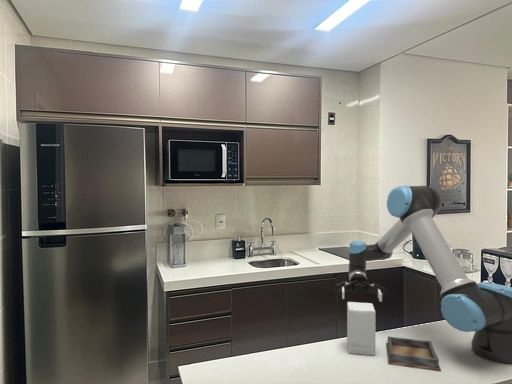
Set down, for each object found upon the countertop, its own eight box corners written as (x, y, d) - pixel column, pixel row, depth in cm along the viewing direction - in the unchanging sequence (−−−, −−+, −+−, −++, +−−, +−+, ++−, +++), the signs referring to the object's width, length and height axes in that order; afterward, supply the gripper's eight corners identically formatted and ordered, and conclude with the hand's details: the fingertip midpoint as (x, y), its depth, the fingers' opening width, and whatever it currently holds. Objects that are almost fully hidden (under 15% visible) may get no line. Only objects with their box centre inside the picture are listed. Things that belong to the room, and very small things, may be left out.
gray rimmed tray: (432, 349, 123) (432, 340, 122) (440, 371, 108) (440, 361, 108) (386, 344, 127) (386, 335, 127) (388, 364, 113) (388, 354, 113)
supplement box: (376, 356, 118) (376, 311, 118) (348, 353, 120) (348, 309, 120) (372, 344, 127) (372, 302, 127) (346, 342, 129) (346, 301, 129)
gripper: (388, 291, 152) (396, 309, 131) (329, 287, 158) (328, 304, 137) (388, 274, 152) (397, 289, 131) (329, 271, 157) (328, 284, 137)
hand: (361, 296), depth 134 cm, fingers open, 13 cm apart
